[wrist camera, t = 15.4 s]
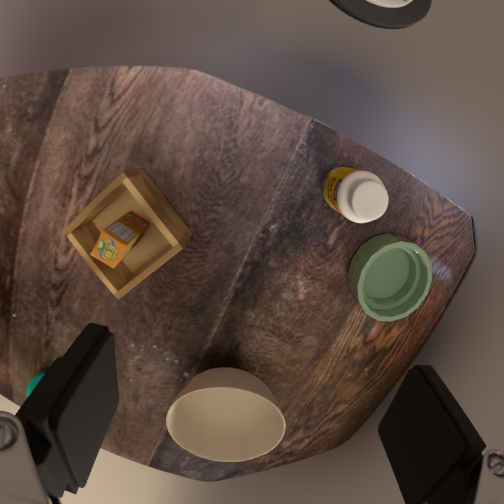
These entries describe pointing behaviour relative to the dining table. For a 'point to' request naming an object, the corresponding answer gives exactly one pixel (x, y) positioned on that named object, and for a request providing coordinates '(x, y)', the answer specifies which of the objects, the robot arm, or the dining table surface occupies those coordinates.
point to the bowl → (226, 416)
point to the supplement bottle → (355, 194)
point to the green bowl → (389, 276)
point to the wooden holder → (152, 243)
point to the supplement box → (119, 238)
